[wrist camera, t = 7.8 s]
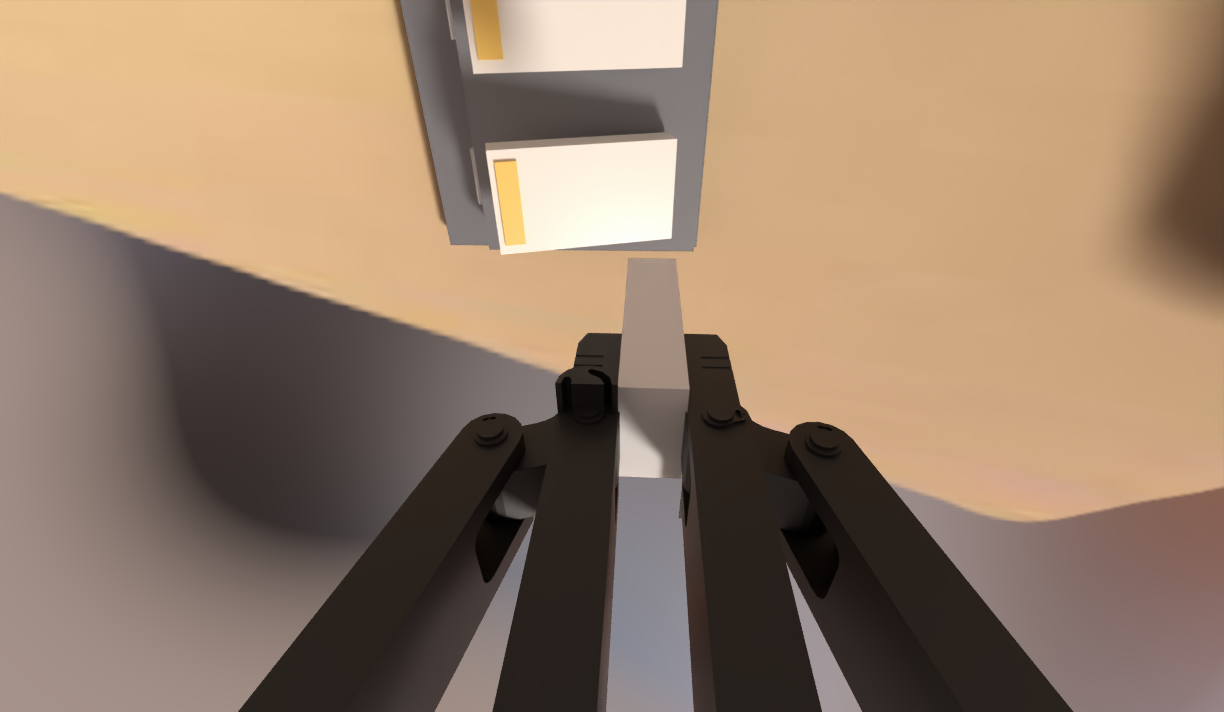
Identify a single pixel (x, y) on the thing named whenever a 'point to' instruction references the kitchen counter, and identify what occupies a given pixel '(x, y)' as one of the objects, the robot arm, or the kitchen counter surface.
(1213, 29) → the kitchen counter surface
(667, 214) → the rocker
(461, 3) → the switch unit
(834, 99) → the kitchen counter surface
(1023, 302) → the kitchen counter surface
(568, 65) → the rocker
